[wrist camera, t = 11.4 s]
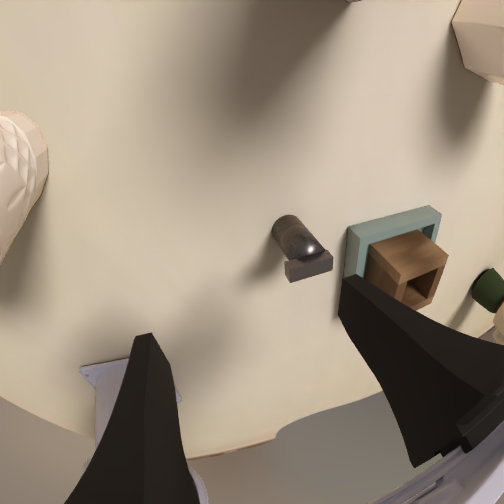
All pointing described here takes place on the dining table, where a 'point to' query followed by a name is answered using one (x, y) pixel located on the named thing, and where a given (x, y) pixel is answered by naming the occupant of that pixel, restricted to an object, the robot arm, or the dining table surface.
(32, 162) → the white cup
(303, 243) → the dark grey rounded piece
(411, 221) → the tray
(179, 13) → the dining table surface
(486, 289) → the character mug
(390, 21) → the dining table surface
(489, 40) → the jar
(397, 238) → the collar
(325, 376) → the dining table surface
